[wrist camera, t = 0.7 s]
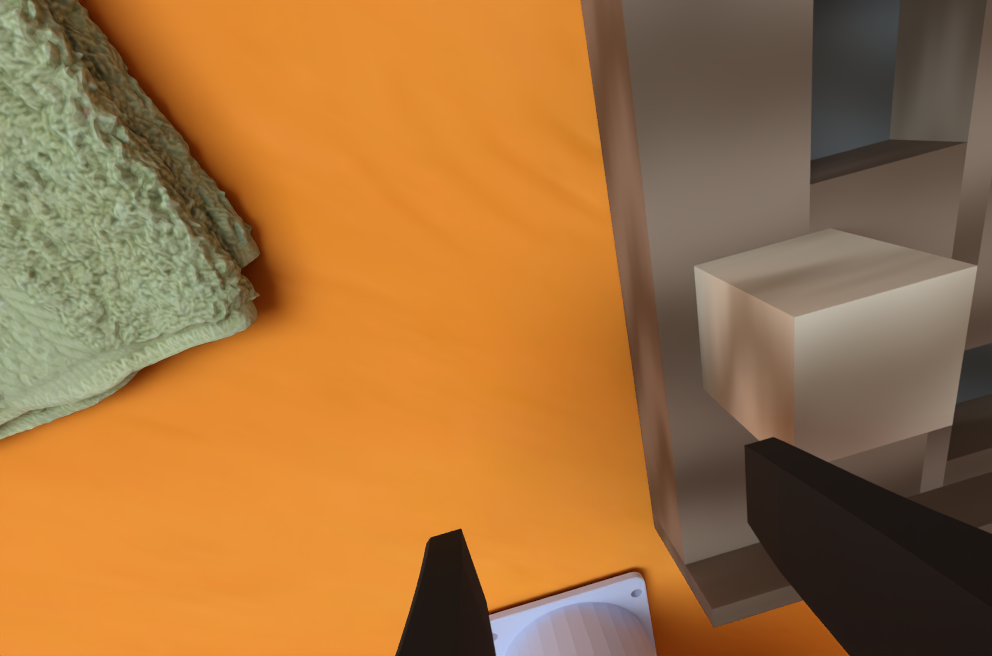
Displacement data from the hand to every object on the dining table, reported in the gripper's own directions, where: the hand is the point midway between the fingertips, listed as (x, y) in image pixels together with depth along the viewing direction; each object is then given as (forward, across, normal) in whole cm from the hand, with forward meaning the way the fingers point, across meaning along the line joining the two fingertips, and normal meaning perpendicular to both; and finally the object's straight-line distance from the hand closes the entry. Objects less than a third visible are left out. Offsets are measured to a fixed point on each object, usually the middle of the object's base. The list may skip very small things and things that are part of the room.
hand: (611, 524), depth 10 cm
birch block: (+6, -8, 0) cm, 10 cm away
